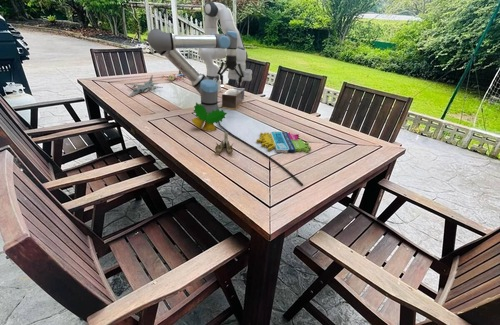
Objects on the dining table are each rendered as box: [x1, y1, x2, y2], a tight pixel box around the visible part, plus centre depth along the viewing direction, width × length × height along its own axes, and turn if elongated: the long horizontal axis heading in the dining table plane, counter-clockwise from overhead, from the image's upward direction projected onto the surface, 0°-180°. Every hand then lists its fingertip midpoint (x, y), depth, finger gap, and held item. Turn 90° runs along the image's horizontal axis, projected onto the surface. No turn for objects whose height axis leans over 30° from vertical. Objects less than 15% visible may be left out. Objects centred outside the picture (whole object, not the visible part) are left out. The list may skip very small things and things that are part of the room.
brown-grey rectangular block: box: [221, 88, 243, 111], centre depth 207 cm, size 19×11×11 cm, turn 167°
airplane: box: [127, 74, 164, 98], centre depth 227 cm, size 38×31×10 cm
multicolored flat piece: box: [256, 131, 312, 154], centre depth 152 cm, size 26×2×30 cm
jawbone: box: [214, 131, 234, 156], centre depth 136 cm, size 9×15×10 cm
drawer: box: [232, 87, 245, 100], centre depth 218 cm, size 23×10×9 cm, turn 167°
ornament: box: [191, 102, 228, 132], centre depth 162 cm, size 21×8×15 cm, turn 105°
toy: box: [161, 69, 187, 82], centre depth 279 cm, size 28×7×30 cm
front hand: (230, 85), depth 196 cm, fingers open, 13 cm apart
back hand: (239, 85), depth 222 cm, fingers closed
